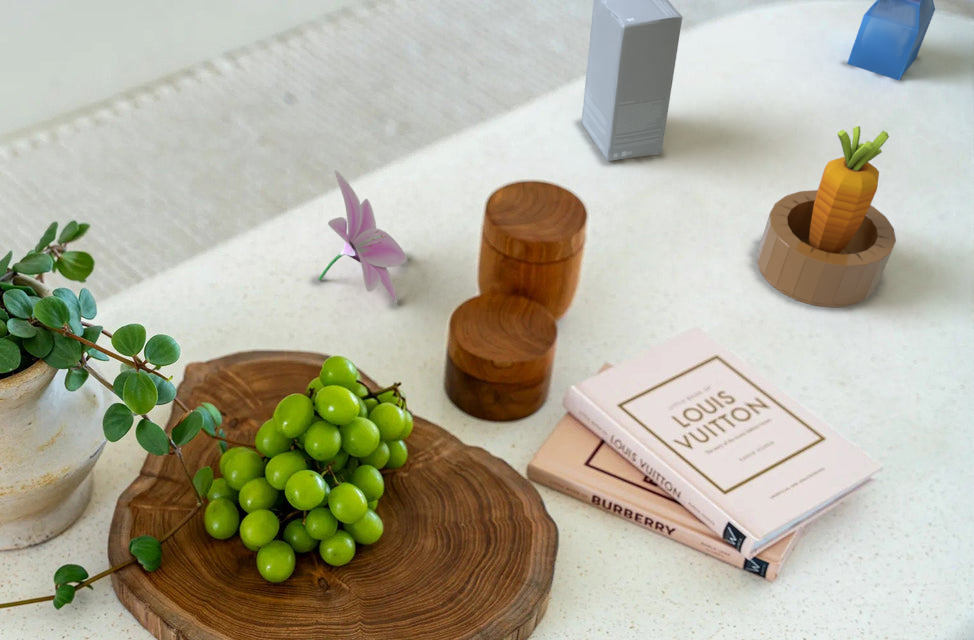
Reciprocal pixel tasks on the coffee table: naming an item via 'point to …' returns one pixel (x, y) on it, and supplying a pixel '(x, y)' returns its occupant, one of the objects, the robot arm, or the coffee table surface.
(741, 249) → the coffee table surface
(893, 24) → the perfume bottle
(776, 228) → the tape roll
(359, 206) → the lily
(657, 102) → the cosmetic box
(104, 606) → the coffee table surface
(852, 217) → the carrot
